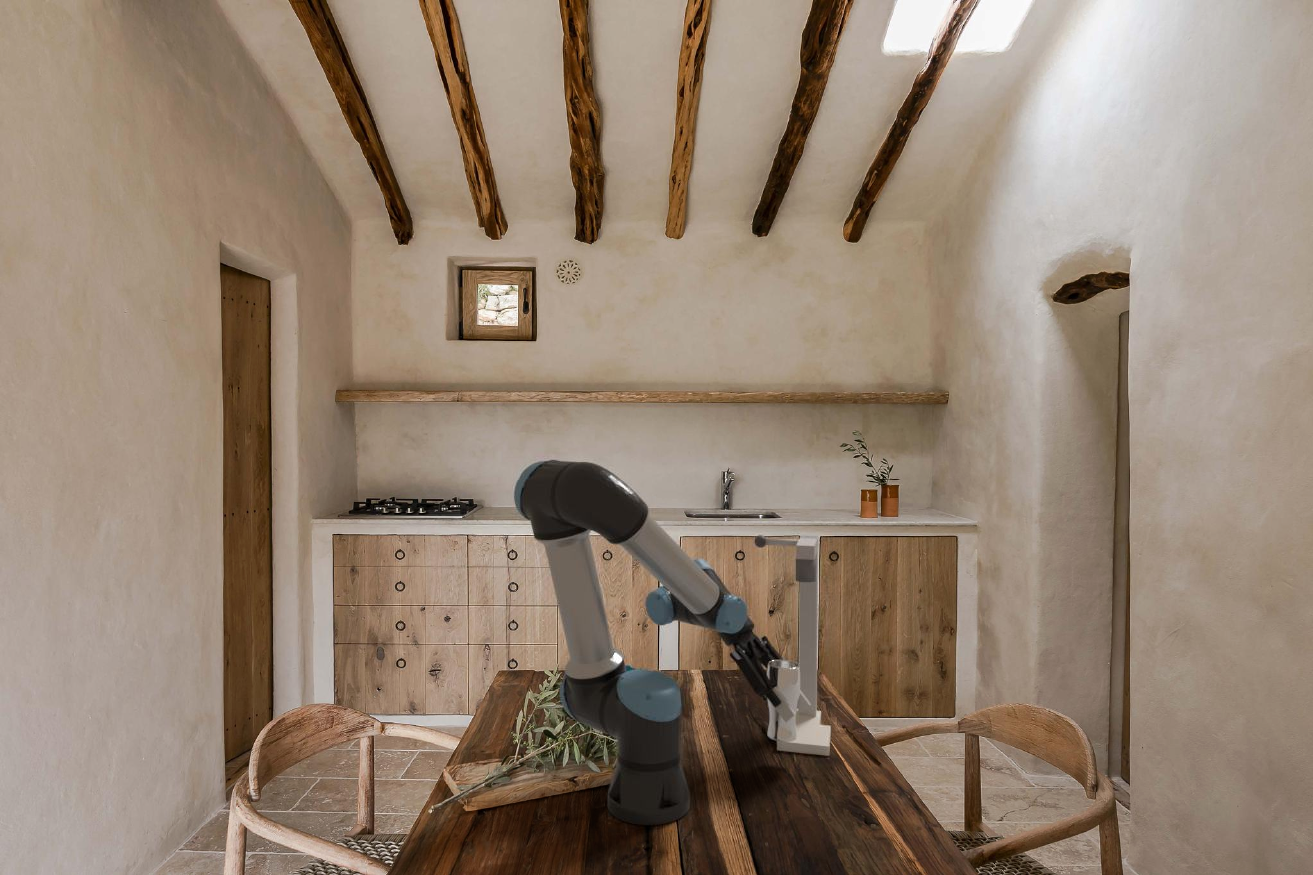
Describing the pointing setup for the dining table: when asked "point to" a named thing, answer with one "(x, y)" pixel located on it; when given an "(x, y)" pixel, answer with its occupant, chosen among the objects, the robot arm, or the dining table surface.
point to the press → (806, 647)
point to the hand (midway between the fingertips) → (798, 713)
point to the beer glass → (788, 685)
